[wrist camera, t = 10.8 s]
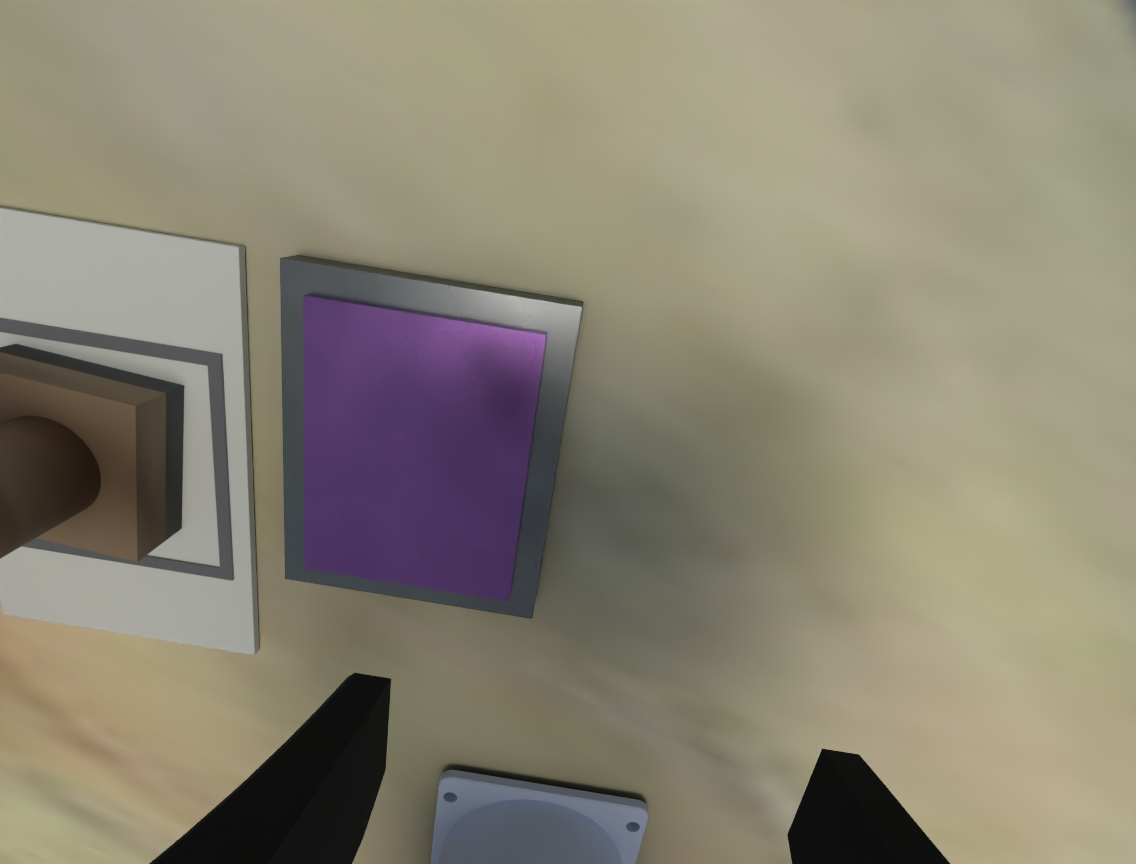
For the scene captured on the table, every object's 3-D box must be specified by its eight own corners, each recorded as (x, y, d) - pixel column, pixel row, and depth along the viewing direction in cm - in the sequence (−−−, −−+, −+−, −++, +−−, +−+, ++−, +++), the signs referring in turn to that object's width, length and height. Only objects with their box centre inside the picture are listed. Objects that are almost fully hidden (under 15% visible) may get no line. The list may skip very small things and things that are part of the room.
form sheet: (259, 649, 22) (253, 657, 21) (10, 608, 22) (0, 615, 21) (245, 246, 17) (236, 247, 16) (-77, 193, 17) (-92, 193, 16)
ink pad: (535, 599, 20) (530, 627, 19) (299, 561, 20) (279, 586, 19) (583, 301, 17) (581, 309, 15) (298, 255, 17) (272, 258, 15)
